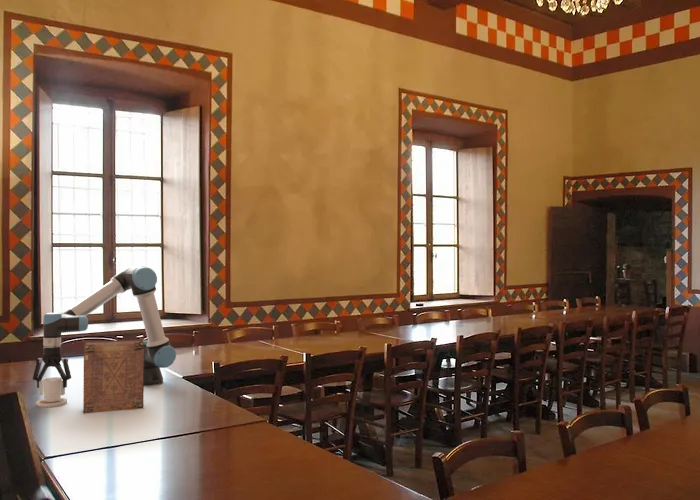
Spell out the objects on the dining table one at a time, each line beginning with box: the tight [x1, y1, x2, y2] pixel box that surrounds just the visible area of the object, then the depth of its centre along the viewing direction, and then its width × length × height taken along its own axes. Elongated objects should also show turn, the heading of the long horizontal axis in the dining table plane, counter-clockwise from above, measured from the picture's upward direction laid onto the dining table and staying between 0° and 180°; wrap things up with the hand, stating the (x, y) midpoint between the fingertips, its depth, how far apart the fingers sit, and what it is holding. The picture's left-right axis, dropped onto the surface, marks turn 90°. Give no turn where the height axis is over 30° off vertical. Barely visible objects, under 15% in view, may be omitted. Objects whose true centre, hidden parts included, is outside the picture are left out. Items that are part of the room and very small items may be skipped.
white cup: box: [42, 376, 63, 402], centre depth 293 cm, size 8×8×10 cm
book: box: [82, 339, 145, 414], centre depth 285 cm, size 25×9×30 cm, turn 111°
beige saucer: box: [35, 397, 68, 409], centre depth 293 cm, size 13×13×2 cm
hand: (51, 394), depth 293 cm, fingers open, 9 cm apart
